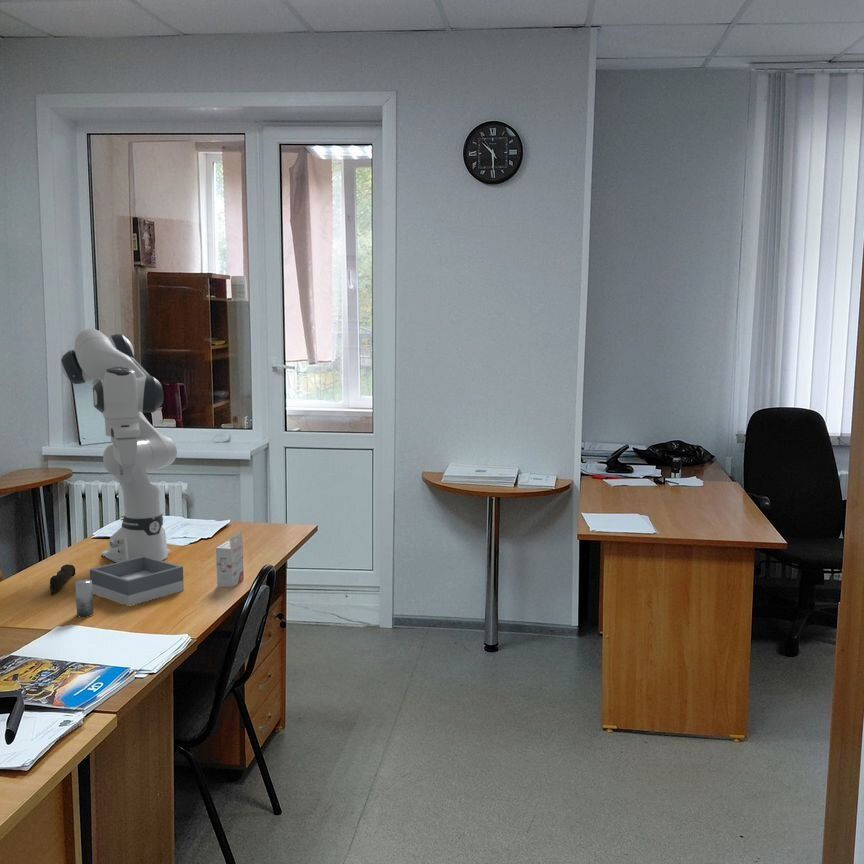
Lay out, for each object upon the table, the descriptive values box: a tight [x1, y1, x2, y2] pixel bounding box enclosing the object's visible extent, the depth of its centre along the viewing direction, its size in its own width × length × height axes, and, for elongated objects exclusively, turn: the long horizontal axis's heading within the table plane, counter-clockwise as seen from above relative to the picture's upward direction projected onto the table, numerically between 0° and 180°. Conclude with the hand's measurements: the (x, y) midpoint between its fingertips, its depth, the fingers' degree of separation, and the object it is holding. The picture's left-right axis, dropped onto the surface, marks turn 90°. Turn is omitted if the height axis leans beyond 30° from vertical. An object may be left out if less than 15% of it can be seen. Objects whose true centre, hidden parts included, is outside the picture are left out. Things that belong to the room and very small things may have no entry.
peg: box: [75, 578, 94, 618], centre depth 236 cm, size 4×4×9 cm
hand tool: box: [49, 564, 76, 596], centre depth 260 cm, size 19×4×5 cm, turn 6°
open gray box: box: [89, 556, 185, 607], centre depth 255 cm, size 18×18×7 cm
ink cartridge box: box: [215, 531, 244, 588], centre depth 264 cm, size 9×5×15 cm, turn 168°
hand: (125, 479), depth 244 cm, fingers open, 8 cm apart
